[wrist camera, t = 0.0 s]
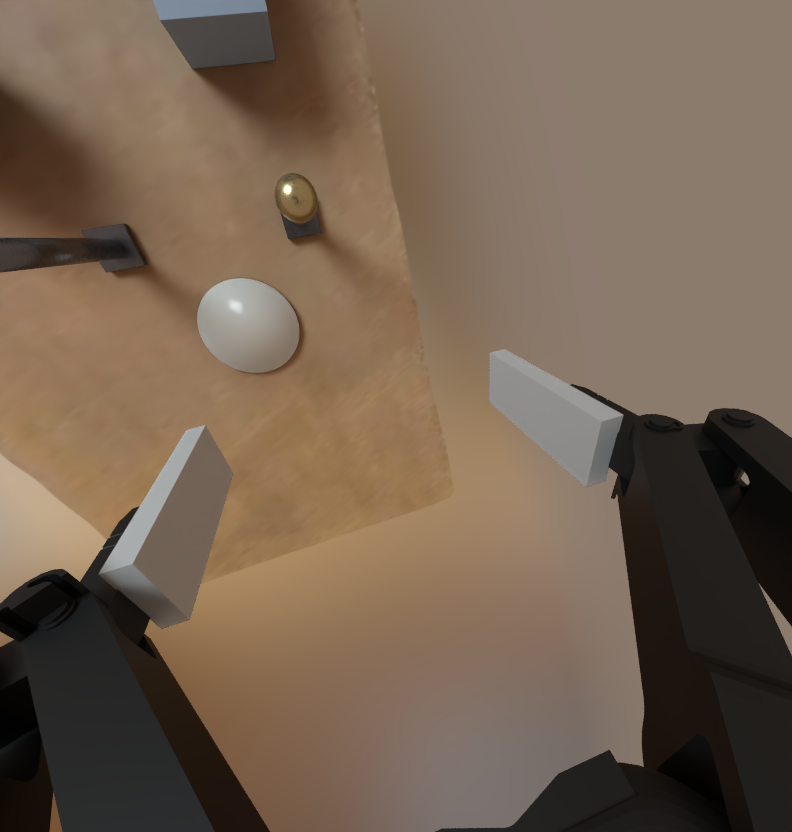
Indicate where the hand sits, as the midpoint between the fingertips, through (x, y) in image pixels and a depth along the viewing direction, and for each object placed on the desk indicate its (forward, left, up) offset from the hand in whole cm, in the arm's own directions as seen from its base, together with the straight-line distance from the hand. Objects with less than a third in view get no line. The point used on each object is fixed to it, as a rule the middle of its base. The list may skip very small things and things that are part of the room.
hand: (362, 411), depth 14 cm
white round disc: (+1, -9, -28) cm, 30 cm away
